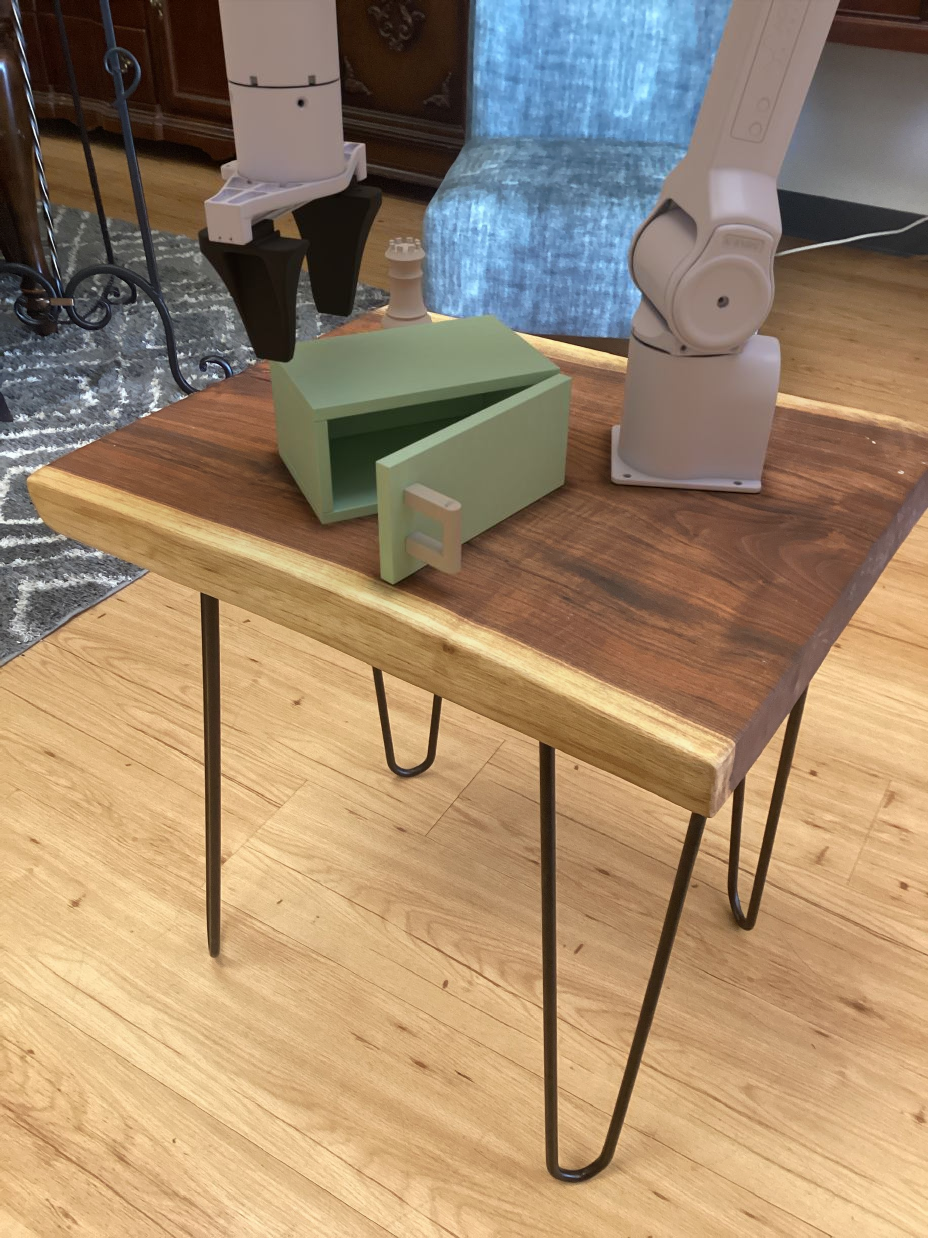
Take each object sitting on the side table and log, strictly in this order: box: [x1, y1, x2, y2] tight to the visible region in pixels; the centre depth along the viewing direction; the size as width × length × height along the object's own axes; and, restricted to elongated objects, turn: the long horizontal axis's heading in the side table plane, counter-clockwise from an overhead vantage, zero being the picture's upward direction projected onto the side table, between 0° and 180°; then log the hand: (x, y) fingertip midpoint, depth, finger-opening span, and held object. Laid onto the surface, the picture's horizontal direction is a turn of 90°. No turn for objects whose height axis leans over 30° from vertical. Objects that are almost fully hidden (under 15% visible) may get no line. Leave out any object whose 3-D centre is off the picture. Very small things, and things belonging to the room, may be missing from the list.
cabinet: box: [268, 313, 561, 525], centre depth 67 cm, size 10×16×8 cm, turn 113°
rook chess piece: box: [380, 236, 433, 330], centre depth 85 cm, size 4×4×8 cm
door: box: [376, 372, 573, 586], centre depth 59 cm, size 4×16×7 cm, turn 138°
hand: (306, 334), depth 61 cm, fingers open, 7 cm apart
